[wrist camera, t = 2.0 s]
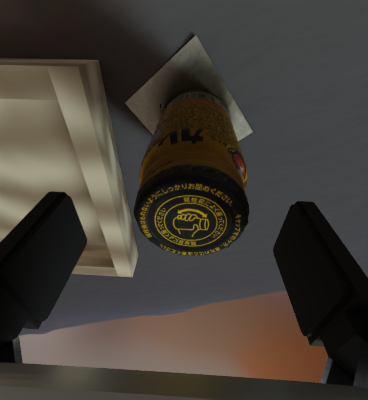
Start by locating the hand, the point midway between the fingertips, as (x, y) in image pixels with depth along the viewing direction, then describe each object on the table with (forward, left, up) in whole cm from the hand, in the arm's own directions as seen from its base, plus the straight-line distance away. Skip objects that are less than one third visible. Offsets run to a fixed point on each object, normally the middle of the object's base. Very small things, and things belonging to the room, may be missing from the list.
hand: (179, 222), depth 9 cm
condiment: (-1, 0, -12) cm, 12 cm away
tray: (+7, -19, -12) cm, 23 cm away
